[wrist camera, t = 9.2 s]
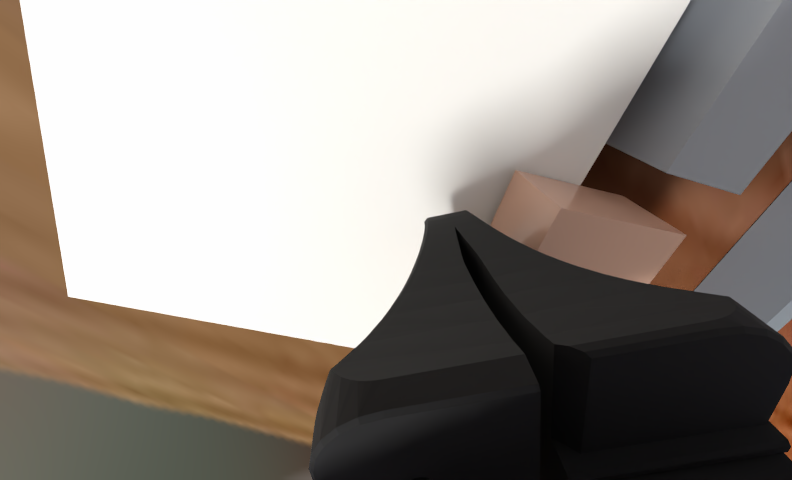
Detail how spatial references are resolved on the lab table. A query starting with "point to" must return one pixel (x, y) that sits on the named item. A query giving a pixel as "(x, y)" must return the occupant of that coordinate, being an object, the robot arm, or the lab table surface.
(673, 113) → the grey rectangular block
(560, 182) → the peach block
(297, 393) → the lab table surface
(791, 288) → the grey rectangular frame
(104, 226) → the board
